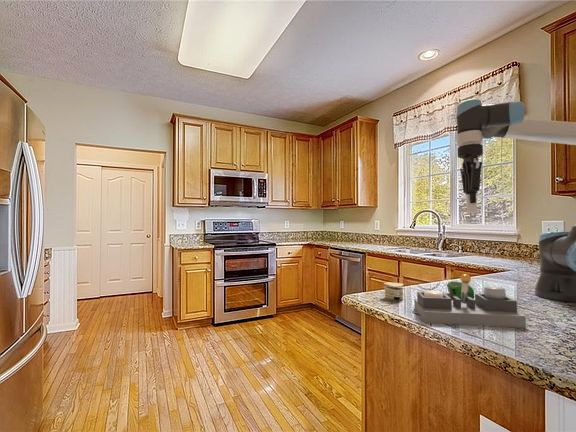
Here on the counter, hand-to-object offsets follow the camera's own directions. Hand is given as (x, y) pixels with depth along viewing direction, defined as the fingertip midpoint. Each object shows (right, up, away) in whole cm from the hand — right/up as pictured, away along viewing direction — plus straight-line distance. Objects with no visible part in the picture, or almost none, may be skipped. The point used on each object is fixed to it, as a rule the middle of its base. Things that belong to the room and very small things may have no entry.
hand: (471, 212), depth 104 cm
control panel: (-13, -30, -18) cm, 38 cm away
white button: (-21, -27, -17) cm, 38 cm away
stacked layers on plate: (-26, -31, +4) cm, 41 cm away
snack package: (-2, -31, +4) cm, 31 cm away
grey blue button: (-6, -25, -20) cm, 32 cm away
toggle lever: (-14, -26, -18) cm, 35 cm away
